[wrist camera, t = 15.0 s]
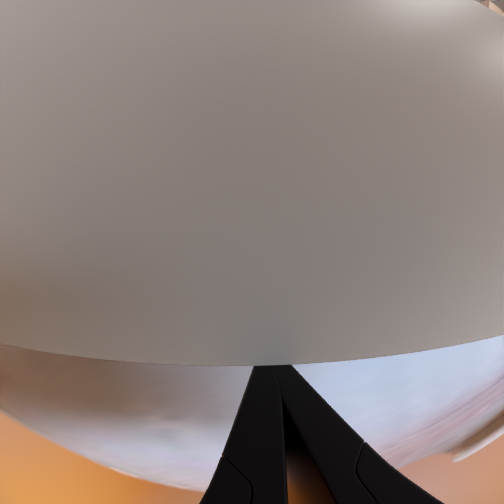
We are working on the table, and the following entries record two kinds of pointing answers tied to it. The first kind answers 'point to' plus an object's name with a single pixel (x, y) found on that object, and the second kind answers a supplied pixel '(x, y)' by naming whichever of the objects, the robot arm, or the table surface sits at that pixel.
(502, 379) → the table surface
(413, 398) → the table surface
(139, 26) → the cover
